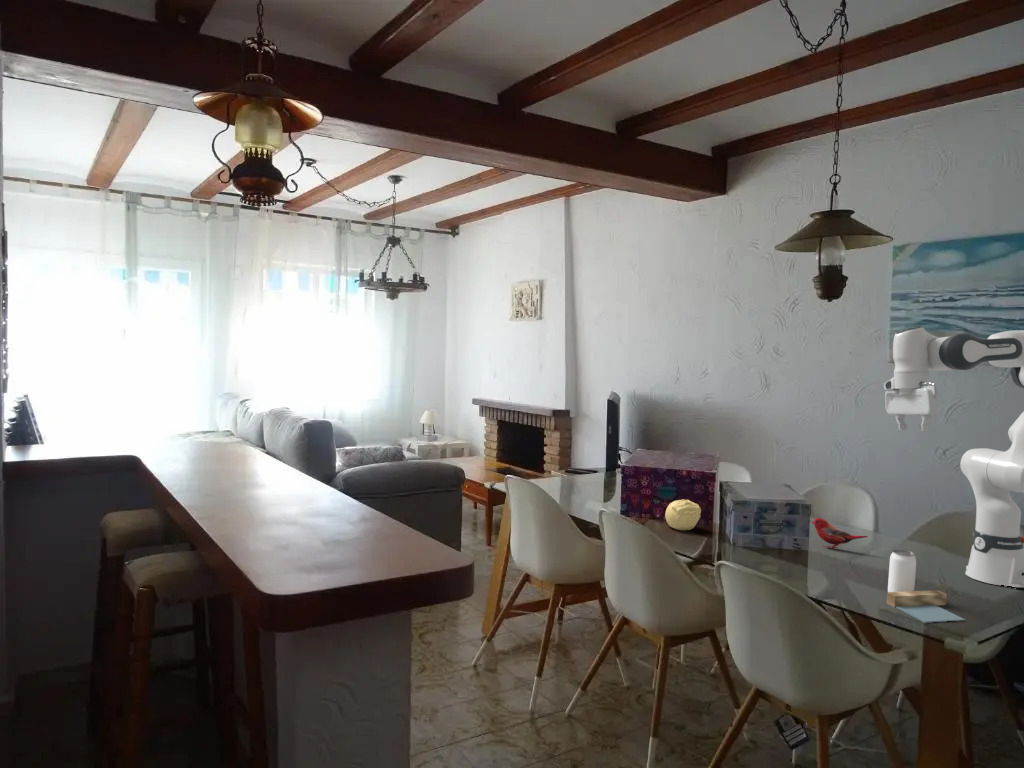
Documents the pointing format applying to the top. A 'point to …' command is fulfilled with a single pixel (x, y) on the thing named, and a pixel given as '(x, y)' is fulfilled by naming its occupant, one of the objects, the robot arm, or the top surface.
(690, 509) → the pale yellow round lump
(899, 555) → the can
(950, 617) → the felt mat
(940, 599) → the oak rail
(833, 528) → the decorative bird figurine
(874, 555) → the top surface
